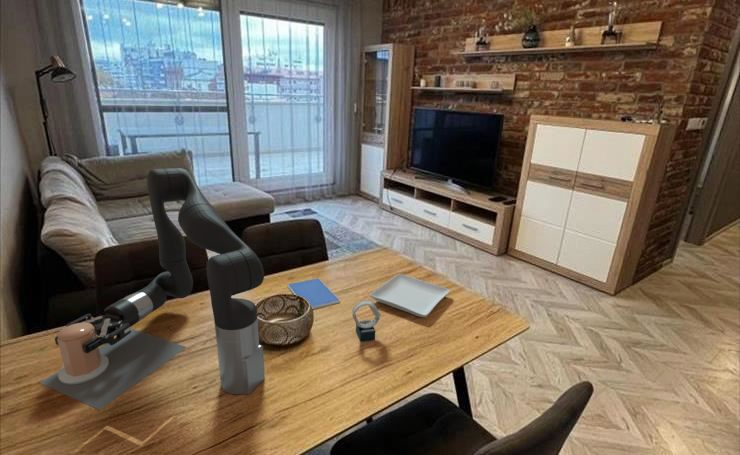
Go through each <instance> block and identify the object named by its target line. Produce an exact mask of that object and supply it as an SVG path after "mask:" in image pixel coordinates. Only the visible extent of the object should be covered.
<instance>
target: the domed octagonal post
mask: <svg viewBox="0 0 740 455" xmlns="http://www.w3.org/2000/svg"><path fill="white" fill-rule="evenodd" d="M57 336H58V338H57V340H58V344H59V345H58V348H59V351H60V355H61V360H62V363H63V366H64V367H65V371H66V374H68V375H71V376H73V377H76V376H80V375H85V374H89V373H90V372H92V371H94V370H95V369H97V368H98V367H99V366H100V363H101V356H100V352H99V348H100V346H99V347H98V348H96V349H95V350H93V351H91V352H89V353H84V351H83V345H84V344H85V343H87V342H89V341H90V340H92V339H94V338H95V337H97V335H96V334H95V329H94V327H93V326H92V324H90V323H76V324H73V325H70V326H66V327H64V328H62V329H60V331H59V332H58V333H57Z"/></svg>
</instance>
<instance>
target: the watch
mask: <svg viewBox="0 0 740 455" xmlns="http://www.w3.org/2000/svg"><path fill="white" fill-rule="evenodd" d="M365 306H368V307H369V308H370V310H371V312H372V314H373V316H375V317H373V319H372V320H362V321H360V320H359V319H358V318H357V315H356V314H357V311H358V310H359V309H361V308H362V307H365ZM352 317H353V320H354V322H355V333H356V335H357V337H358V339H359V342H360V343H362V342H363V343H364V342H365V343H366V342H372V341H376V328H375V327H374V326H376V325H377V324H378V323H379V321H380V319H381V313H380V311H379V309H378V307H377V306H376V304H375V303H374V302H373V301H372V300H371V301H370V300H369V299H368V300H367V299H366V300H361V301H359V302H358V303H356V304H355V305H354V307H353V308H352Z"/></svg>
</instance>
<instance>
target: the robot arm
mask: <svg viewBox="0 0 740 455" xmlns="http://www.w3.org/2000/svg"><path fill="white" fill-rule="evenodd" d="M146 185H147V186H146V188H147V192H148V198H149V202H150V203H149V204H150V208H151V213H152V217H153V222H154V226H155V231H156V236H157V242H158V254H159V257H158V258H159V264H160V266H161V267H162V268H163V269H164V270H166V271H163V272H161V273H159V274H158V275H157V276H155V278H153V280H151V281H150V282H149V284H148V285H146V286H144V287H143V288H142V289H140V290H139V289H138V291H136V292H134V293H132V294H129V295H126V296H125V297H124V298H120V299H119V300H118V301H115V302H114V303H111V304H110V305H109V306H107V307H106V308H105V309H104V311H103V312H102V314H101V315H99V316H96V317H94V316H92V314H91V313H87V314H84V315H82V316H80V317H79V318H76V319H75V320H72V321H71V322H69V323H67V324H66V327H67V326H70V325H73V324H76V323H90V324H92V326H93V327H94V329H95V334H96V337H95V338H94V339H92V340H90V341H89V342H87V343H85V344H84V345H83V351H84V353H89V352H91V351H93V350H95V349H96V348H98V347H99V348H100V347H102V346H104V345H106V344H107V343H109V344H110V345H114V344H116V343H117V342H118V341H120V340H121V339H123V338H124V337H125V336H127V335H128V334H130V333H131V330H132V329H131V328H132V326H134V325H136V324H137V323H139V322H141V321H143V320H144V319H145V318H146V317H148V316H149V315H151V313H153V312H155V311H157V309H160V308H161V307H163V305H164V304H165V303H166V302H167V300H168V299H167V296H170V297H174V298H176V299H184V298H186V297H188V296H189V295H190V294H191V292H192V290H193V288H194V287H193V286H194V280H193V279H194V278H193V275H192V273H191V270H190V267H189V265H188V263H187V262H188V261H187V256H186V254H187V253H186V241H185V237H184V235H183V234H182V232H183V233H184V234H185V236H186V237H187V239H188V240H189V241H190V242H191V243H193V244H194V245H195V246H197V247H200V248H203V249H205V250H207V251H210V252H214V253H216V254H218V255H213V256H211V257H209V258H208V260H207V263H206V277H207V284H208V289H209V295H210V301H211V308H212V315H213V321H214V329H215V330H214V332H215V339H216V350H217V359H218V360H217V361H218V369H219V376H220V377H219V378H220V386H221V389H222V390H223V391H224V392H226V393H228V394H231V395H243V394H246V395H250V394H251V393H252V392H253V391H254V390H256V388H257V387H258V386H259V385H260V384H261V383H262V382H263V381H264V380H265V378H266V377H265V361H264V347H263V346H264V345H261V344H260V340H259V339H260V337H259V323H258V308H257V306H256V303H254V302H253V301H251V300H250V299H246V298H238V297H236V298H235V297H233V296H235V295H238V294H243V293H245V292H248V291H252V290H254V289H256V288H258V287H259V286H261V285H262V284H263V283H264V280H265V270H264V266H263V264H262V262H261V260H260V258H259V257H258V255H257V254H256V253H255V252H254V250H253V249H252V248H251V247H250V246H249V245H247V243H245V242H244V241H243V240H242V239H241V238H240V237H239V236H238V235H237V234H236V233H235V232H234V231H233V230H232V229H231V227H230V226H229V225H228V224H227V223H226V222H225V220H224V219H223V217H222V216H221V215H220V214H219V212H218V211H217V210H216V208H215V207H213V205H212V204H211V203H210V202H209V201H208V199H207V198H206V196H204V194H203V193H202V191H201V189H200V188H199V186H198V185H197V182H196V181H195V179H194V178H193V176H192V175H191V173H190V172H189V171H188V170H187V169H185V168H180V167H172V168H171V167H170V168H155V169H154V168H153V169H151V170H149V171H148V174H147V179H146ZM179 201H180V202H181V201H184V202H183V203H182V205H181V207H180V209H179V211H178V215H177V216H178V217H177V221H178V224H179V227H180V229H181V230H182V232H181V231H180V230H179V229H178V227H177V226H176V225H175V223H173V221H172V220H171V219H170V217H169V216H168V214H167V212H166V208H165V203H168V202H169V203H170V202H179ZM57 338H58V335H56V337H54V342H55V344H56V346H59V344H58V340H57Z"/></svg>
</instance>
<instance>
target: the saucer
mask: <svg viewBox="0 0 740 455" xmlns="http://www.w3.org/2000/svg"><path fill="white" fill-rule="evenodd" d="M100 356H101V363H100V366H99V367H98V368H97V369H95V370H94V371H92V372H90V373H89V374H85V375H80V376H76V377H73V376H71V375H68V374H66V371H65V367H64V365H62V366H61V368H60V369H59V370H58V371H57V372H58V378H59V381H60V382H61V383H63V384H66V385H76V384H81V383H85V382H88V381H91V380H93V379H95V378H97V377H98V376H100V375H101V374H103V373H104V372H105V371H106V370H107V368H108V366H109V361H108V358H107V357H106V356H105V355H102V354H100Z"/></svg>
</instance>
